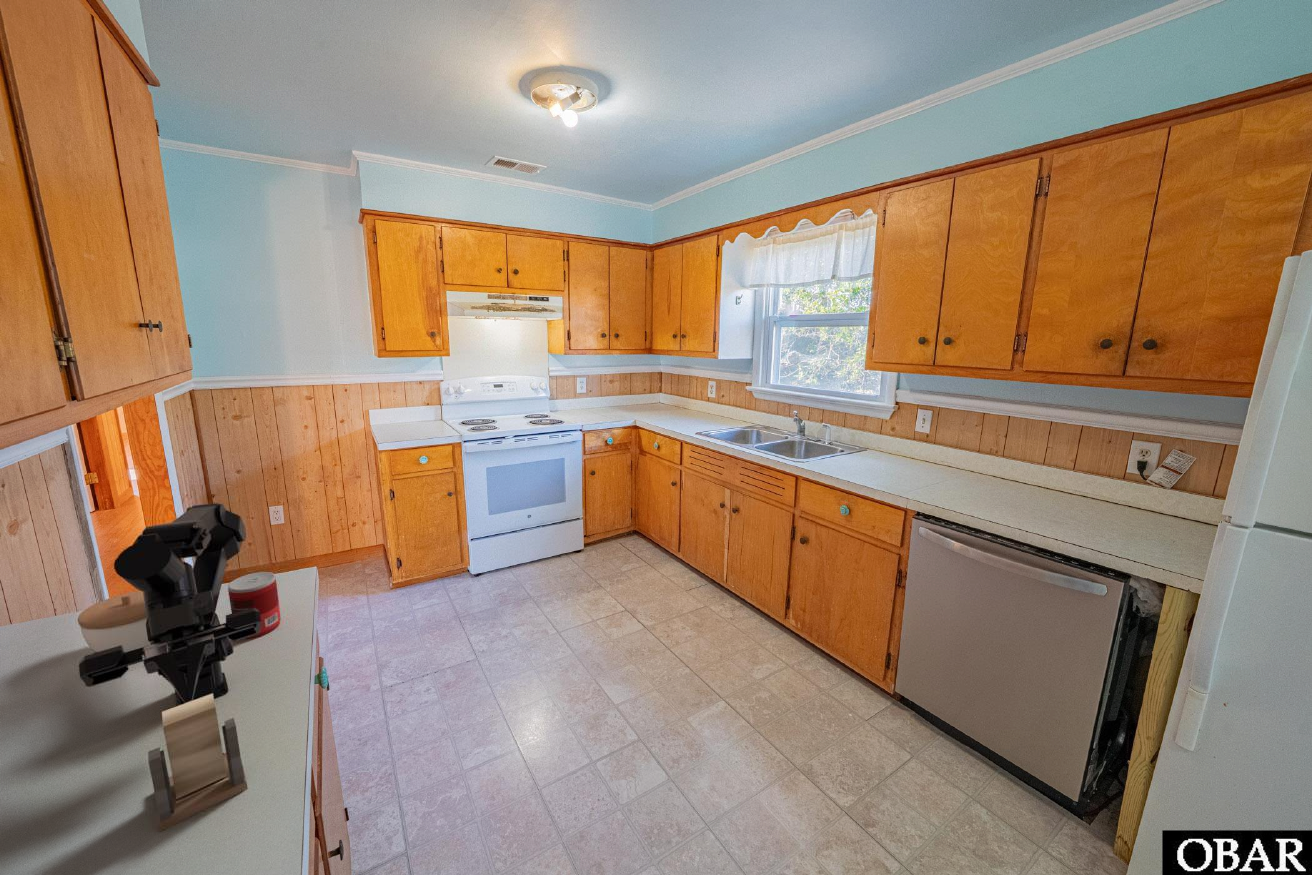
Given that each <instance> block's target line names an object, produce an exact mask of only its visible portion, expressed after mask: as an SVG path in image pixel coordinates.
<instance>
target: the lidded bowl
mask: <svg viewBox="0 0 1312 875" xmlns="http://www.w3.org/2000/svg"><path fill="white" fill-rule="evenodd" d="M146 621H147V617H146V610H145V603H144V596H143V591H140V590H136V591H131V592H127V593H121V594H119V595H118V594H117V595H115V596H113V597H109V598H107V599H104V600H101V601H98V602H97V603H95V604H92V605H89V607H87V608H85V609H84V610H83V611H82V612H80V613H79V615H78V617H77V623H78V625H79V627H80V629H81V634H82V638H83V639H84V641H85V642H86V644H87V645H88V646H89V648H90V649H92V650H93V651H94V652H95V653H96V652H100V651H103V650H107V649H110V648H114V647H117V646H121V645H122V647H123V649H124V652H128V651H132V650H135V649H139V648H142V647H145V646H149V645H150V642H149V641H148V637H147V630H146Z"/></svg>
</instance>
